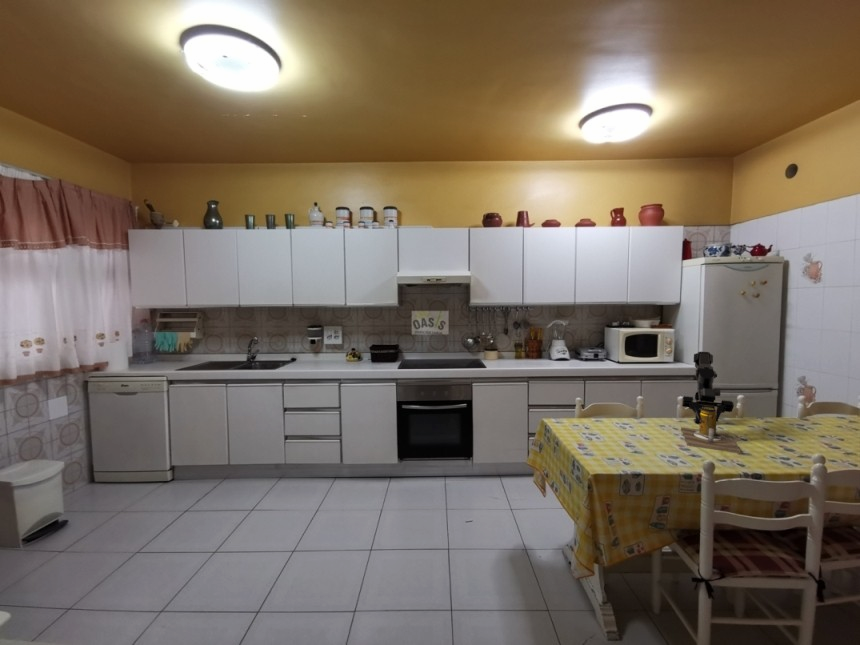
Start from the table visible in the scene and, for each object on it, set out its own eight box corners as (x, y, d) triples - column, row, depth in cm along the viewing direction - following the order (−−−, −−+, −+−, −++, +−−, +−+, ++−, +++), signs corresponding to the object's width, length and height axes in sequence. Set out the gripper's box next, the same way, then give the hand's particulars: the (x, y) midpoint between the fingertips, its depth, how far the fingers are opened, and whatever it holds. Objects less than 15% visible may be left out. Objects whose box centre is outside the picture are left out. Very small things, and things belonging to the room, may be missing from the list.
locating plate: (680, 429, 181) (681, 415, 180) (727, 435, 172) (727, 420, 172) (687, 445, 161) (688, 429, 161) (740, 453, 153) (740, 436, 152)
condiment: (694, 431, 172) (695, 405, 171) (713, 431, 172) (715, 405, 171) (705, 437, 165) (706, 410, 164) (725, 437, 164) (726, 410, 163)
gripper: (683, 379, 175) (684, 408, 166) (733, 383, 166) (738, 414, 157) (681, 391, 182) (682, 420, 174) (729, 396, 173) (733, 426, 164)
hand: (708, 420), depth 167 cm, fingers closed on condiment, 6 cm apart
